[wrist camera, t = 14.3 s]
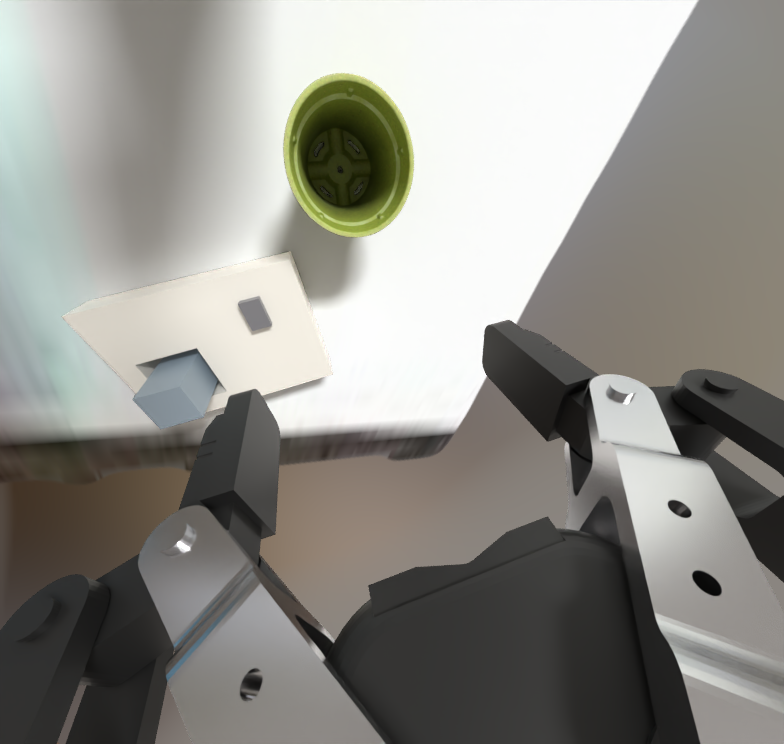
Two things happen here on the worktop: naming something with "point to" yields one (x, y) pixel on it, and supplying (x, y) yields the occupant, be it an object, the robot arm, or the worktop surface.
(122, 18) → the worktop surface
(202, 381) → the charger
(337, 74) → the plant pot
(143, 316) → the outlet plate
